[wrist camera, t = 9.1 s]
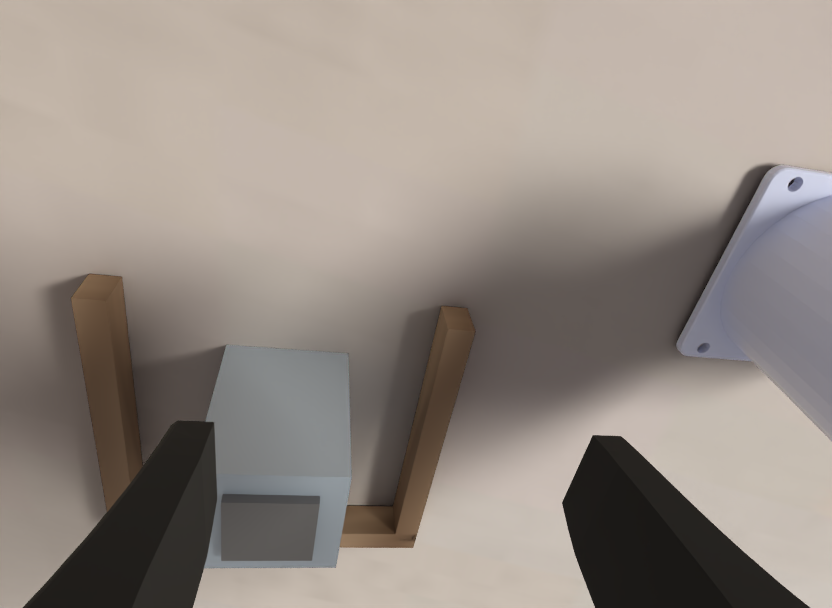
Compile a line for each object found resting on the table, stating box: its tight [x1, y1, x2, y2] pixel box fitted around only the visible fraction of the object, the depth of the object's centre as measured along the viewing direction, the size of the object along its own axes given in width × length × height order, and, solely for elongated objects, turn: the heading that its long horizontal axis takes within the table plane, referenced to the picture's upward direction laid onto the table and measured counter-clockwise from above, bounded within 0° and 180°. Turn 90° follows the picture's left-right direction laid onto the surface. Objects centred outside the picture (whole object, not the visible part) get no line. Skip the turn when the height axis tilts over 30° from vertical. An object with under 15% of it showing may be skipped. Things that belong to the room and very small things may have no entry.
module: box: [204, 345, 352, 568], centre depth 19 cm, size 5×4×6 cm
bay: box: [71, 274, 476, 548], centre depth 22 cm, size 13×12×2 cm
